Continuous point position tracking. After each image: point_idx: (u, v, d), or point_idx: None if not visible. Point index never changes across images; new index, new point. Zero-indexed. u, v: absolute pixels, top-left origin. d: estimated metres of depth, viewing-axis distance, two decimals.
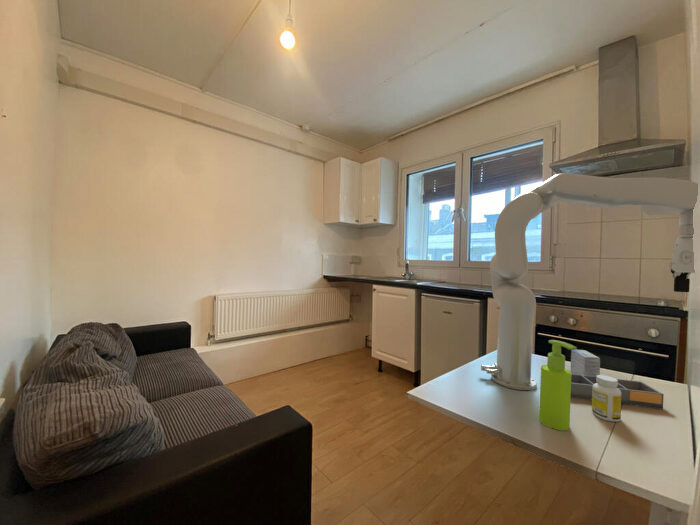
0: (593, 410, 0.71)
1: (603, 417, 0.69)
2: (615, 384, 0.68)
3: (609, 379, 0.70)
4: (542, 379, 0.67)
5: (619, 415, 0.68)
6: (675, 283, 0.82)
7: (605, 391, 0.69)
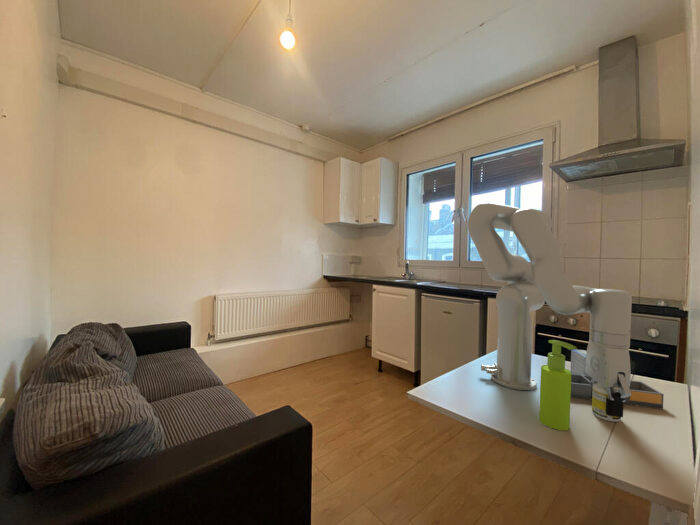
0: (593, 410, 0.71)
1: (603, 417, 0.69)
2: (615, 384, 0.68)
3: None
4: (542, 379, 0.67)
5: None
6: None
7: (605, 391, 0.69)
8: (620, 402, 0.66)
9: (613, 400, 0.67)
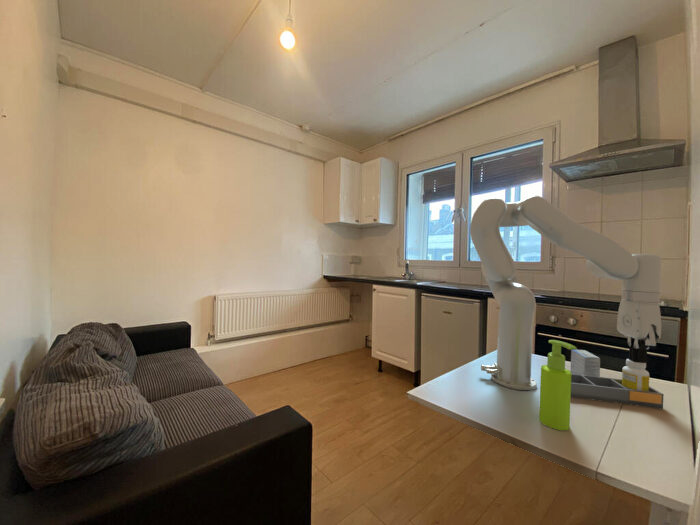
0: None
1: None
2: (643, 366, 0.78)
3: (638, 362, 0.79)
4: (542, 379, 0.67)
5: None
6: (630, 352, 0.80)
7: (634, 372, 0.78)
8: (644, 349, 0.78)
9: (638, 348, 0.78)
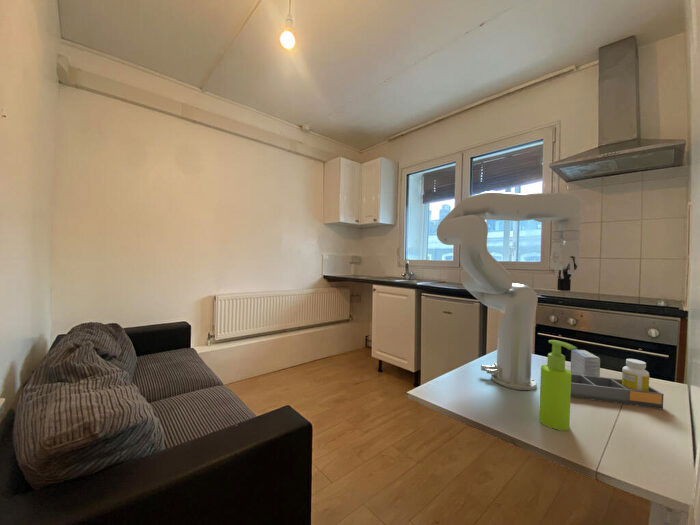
0: None
1: None
2: (643, 366, 0.78)
3: (638, 362, 0.79)
4: (542, 379, 0.67)
5: None
6: (558, 283, 0.96)
7: (634, 372, 0.78)
8: (568, 279, 0.94)
9: (563, 278, 0.94)
